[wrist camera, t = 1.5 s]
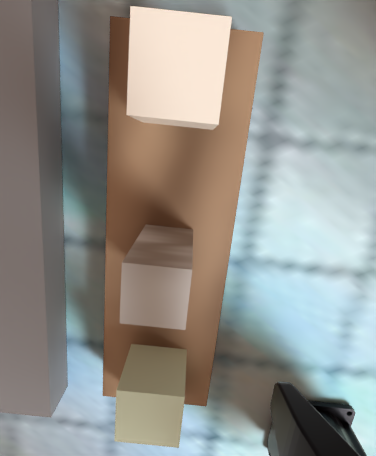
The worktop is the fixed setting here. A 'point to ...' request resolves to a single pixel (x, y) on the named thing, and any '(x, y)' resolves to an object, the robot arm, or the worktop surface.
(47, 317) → the dock
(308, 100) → the worktop surface
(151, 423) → the pale olive cube
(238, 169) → the pallet
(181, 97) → the block
